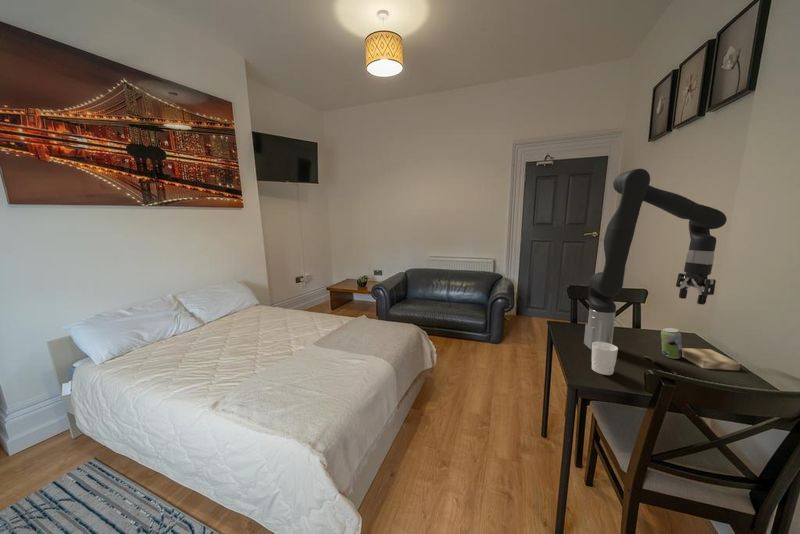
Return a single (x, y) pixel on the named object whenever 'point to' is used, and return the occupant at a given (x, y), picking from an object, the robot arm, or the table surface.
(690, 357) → the base
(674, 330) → the beverage can
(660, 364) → the fountain pen
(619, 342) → the table surface
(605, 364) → the white cup
